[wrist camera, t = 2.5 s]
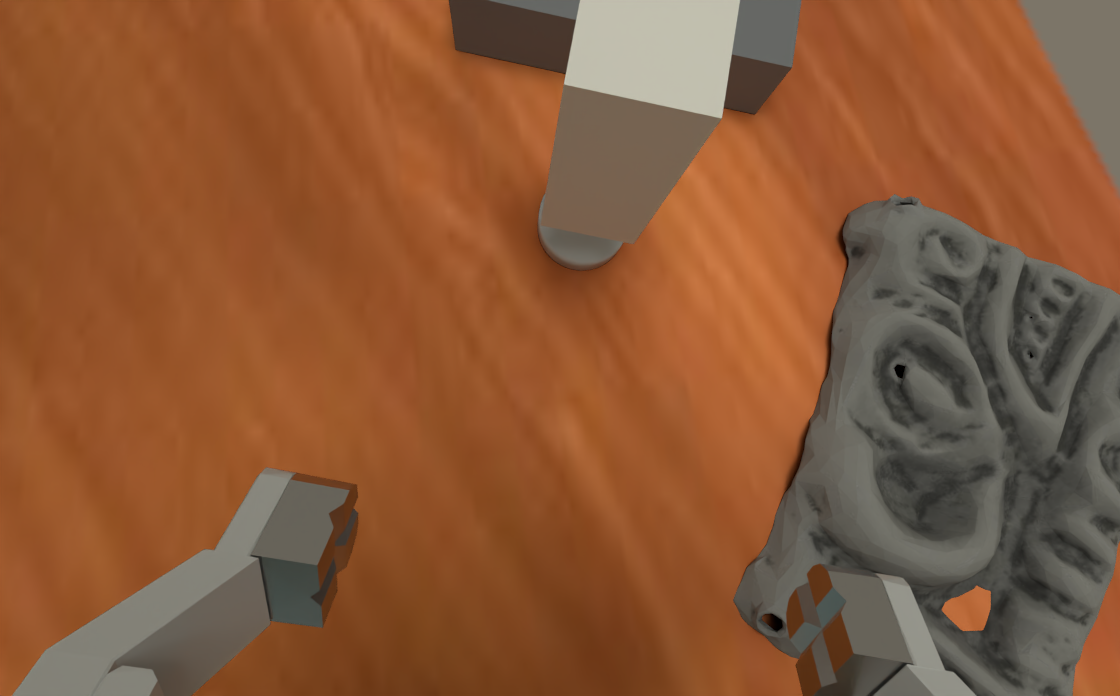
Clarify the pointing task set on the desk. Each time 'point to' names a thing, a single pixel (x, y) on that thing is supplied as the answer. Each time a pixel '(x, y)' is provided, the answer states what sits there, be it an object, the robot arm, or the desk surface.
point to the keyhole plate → (549, 21)
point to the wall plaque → (960, 447)
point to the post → (631, 118)
